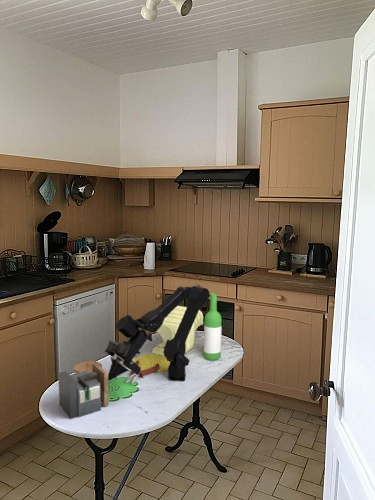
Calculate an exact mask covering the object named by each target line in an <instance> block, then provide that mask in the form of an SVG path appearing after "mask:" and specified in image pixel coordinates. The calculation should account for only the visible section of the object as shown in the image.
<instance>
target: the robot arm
mask: <svg viewBox="0 0 375 500" xmlns="http://www.w3.org/2000/svg"><path fill="white" fill-rule="evenodd" d="M210 294H211V293H210V291H209V289H208V288H206V287H202V286H199V285H193V286H178V287H176V289H175V291H173V293H172V294H171V295H169V296H168V297H167V298H166V299H165V300H164V301H163V302H162V303H161V304H160V305H159V306H157V307H156V308H155V309H152V310H149V311H147V312H146V313H145V314H142V316H141V317H139V318H137V319H136V318H135V319H134V318H133V317H132V316H131V315H130V314H126V315H125V316H123V317H122V318H120V319H117V321H116V323H115V330H117V331H118V332H119V333H120V334H121V335H123V336H124V337H125V338H126V339H127V340H123V341H122V342H117V341H114V340H108V341H109V342H108V344H107V348H105V350H104V352H105V353H107V354H108V355H109V356H110V360H111V365H110V369H109V371H108V382H109V381H110V382H111V380H114V379H115V378H116V377H118V376H121V375H123V374H125V373H127V372H129V371H130V372H131V371H133V372H134V373H135V374H136V375H138V374H139V373H140V371H142V368H141V367H140V365H137V364H136V363H134V362H135V361H133V360H134V358H136V357H137V356H136V354H139V355H140V354H141V348H142V347H143V346H144V345H145V343H146V342H147V341H149V342H153V334H152V333H157V332H156V331H157V330H158V329H159V328H160V327H161V325H162V324H163V322H164V319H165V318H166V317H167V316H168V315H169V313H170V312H172V311H173V310H174V309H175V308H176V307H177V306H180V304H181V303H182V302H183V301H184V300H185V299H187V306H186V307H187V309H186V311H185V313H184V316H183V318H182V320H181V323H180V325H179V327H178V330H177V332H176V334H175V337H174V338H173V339H172V340H167V342H166V345H165V347H164V348H163V349H164V351H163V354H164V358H166V360H167V362H169V364H168V368H167V377H168V381H174V382H175V381H177V382H185V381H186V376H187V373H186V367H187V366H189V364H190V359H189V358H188V357H186V356H185V354H186V353H185V351H186V347H185V342H186V339H187V337H188V335H189V332H190V330H191V328H192V325H193V323H194V321H195V318H196V316H197V314H198V311H199V310H200V309H202V308H203V307H204V306H205V305H206V304H207V302H208V300H209V298H210ZM146 331H147V332H146ZM139 350H140V351H139ZM135 356H136V357H135Z"/></svg>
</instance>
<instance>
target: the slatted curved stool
mask: <svg viewBox="0 0 375 500" xmlns="http://www.w3.org/2000/svg"><path fill="white" fill-rule="evenodd" d="M186 309H187V306H181V305H178V306H177V307H176V308H175V309H174V310H173V311H172V312H170V313H169V314H168V315H167V316H166V318H165V319H164V322H163V324H162V325H161V327H160V328H159V329H158V330H157V331H156V332H155V333H158V334H159V335H160V336H161V338H162V343H160V344H158V345H157V346H154V347H153V348H152V351H151V353H152V354H154V353H156V354H155V355H159V354H160V356H163V355H164V354H163V351H164V349H163V348H164V347H165V345H166V342H167V340H172V339H173V338H174V337H175V334H176V332H177V330H178V327H179V325H180V323H181V320H182V318H183V316H184V313H185V311H186ZM200 326H204V315H203V312H202V311H201V310H200V309H199V311H198V314H197V316H196V318H195V321H194V323H193V325H192V328H191V330H190V332H189V335H188V337H187V339H186V342H185V347H186V351H185V354H186V353H188V352H189V351H190V350H192V349H193V348H194V345H195V335H196V330H198V327H200Z"/></svg>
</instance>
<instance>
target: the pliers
mask: <svg viewBox="0 0 375 500" xmlns="http://www.w3.org/2000/svg"><path fill="white" fill-rule="evenodd" d="M134 363H136V364H137V365H138V366H140V360H137V359H136V361H134ZM160 366H161V365H160V363H159V362H157V363H155V365H153V366H151V367H149V368H145V369H143V370H142V369H141V371H140V373H139V374H138V375H136V374H135V373H134V372H133V371H131V370H130V374H129V377H128V378H127V379H126V381H125V382H124V384H128V383H129V382H131V385H132V384H134V383H135V382H137V380H139V379H140V378H141V379H144V377H145V376H148V375H150V374H153V373H156V372H158V370H159V369H160V368H161V367H160Z"/></svg>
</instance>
